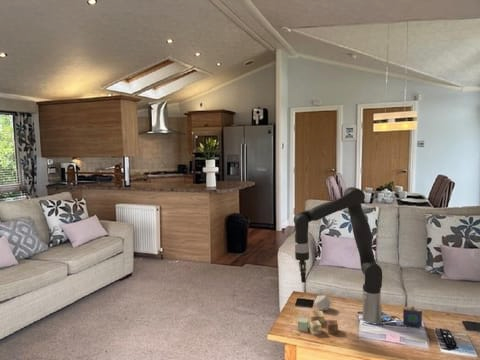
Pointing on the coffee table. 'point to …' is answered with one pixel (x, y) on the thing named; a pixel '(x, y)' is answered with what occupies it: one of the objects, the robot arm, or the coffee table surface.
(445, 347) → the coffee table surface
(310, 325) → the beech block
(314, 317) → the oak base
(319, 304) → the die
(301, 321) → the sage block
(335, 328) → the walnut block
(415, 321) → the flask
